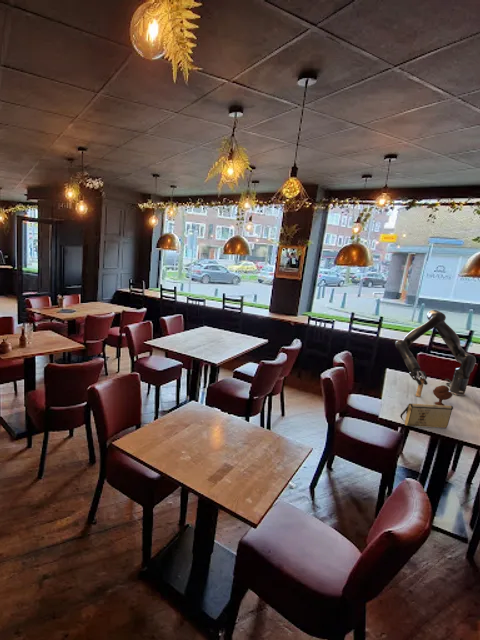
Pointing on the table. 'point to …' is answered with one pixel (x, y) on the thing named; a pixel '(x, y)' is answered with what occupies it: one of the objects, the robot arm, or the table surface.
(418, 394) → the stirring stick
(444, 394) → the ice cream bowl
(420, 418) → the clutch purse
